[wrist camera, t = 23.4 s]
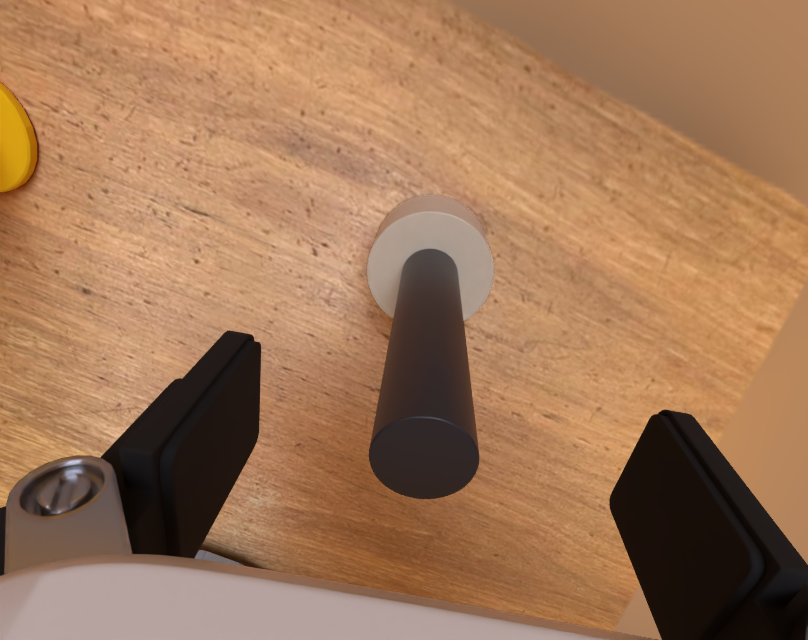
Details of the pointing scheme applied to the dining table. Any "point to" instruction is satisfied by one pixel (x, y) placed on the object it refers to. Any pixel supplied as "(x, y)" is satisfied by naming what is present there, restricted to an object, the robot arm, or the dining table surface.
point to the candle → (15, 143)
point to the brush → (427, 344)
